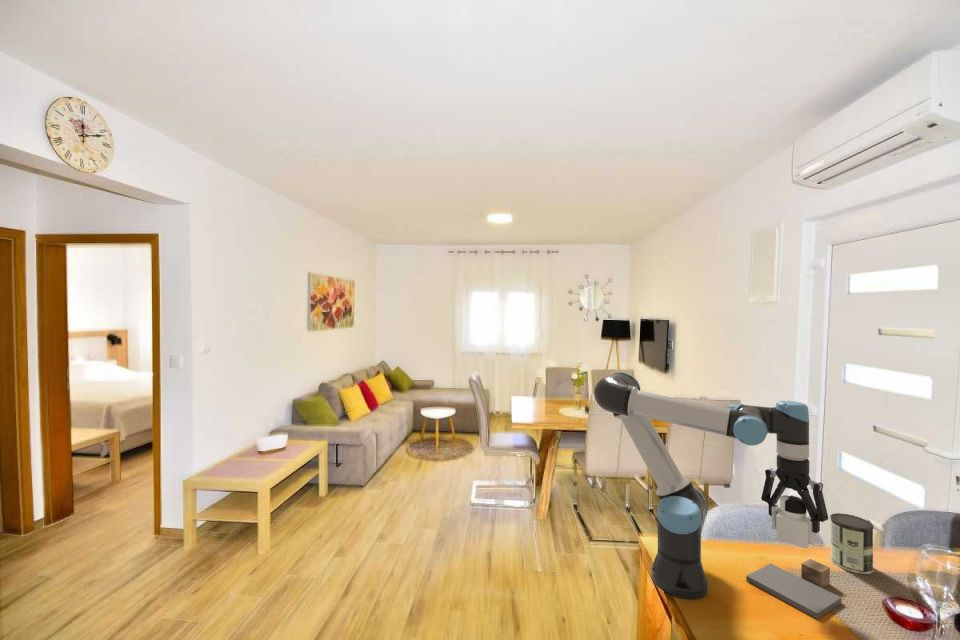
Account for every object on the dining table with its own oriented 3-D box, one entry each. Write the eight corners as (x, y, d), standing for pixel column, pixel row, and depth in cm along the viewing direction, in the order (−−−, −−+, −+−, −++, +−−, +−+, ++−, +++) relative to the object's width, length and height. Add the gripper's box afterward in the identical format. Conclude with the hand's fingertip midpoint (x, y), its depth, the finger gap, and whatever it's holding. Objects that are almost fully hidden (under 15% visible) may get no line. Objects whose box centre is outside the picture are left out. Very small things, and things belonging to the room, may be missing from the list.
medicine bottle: (810, 539, 120) (810, 497, 120) (807, 549, 115) (807, 505, 115) (780, 530, 125) (779, 490, 125) (776, 540, 120) (775, 498, 120)
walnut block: (801, 579, 125) (801, 563, 125) (810, 575, 128) (810, 558, 128) (821, 589, 121) (821, 572, 121) (829, 584, 123) (829, 567, 123)
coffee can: (858, 557, 137) (858, 514, 137) (882, 576, 127) (882, 530, 127) (822, 553, 139) (822, 511, 139) (842, 572, 129) (843, 526, 129)
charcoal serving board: (746, 580, 125) (746, 575, 125) (770, 568, 131) (770, 563, 131) (817, 619, 109) (817, 613, 109) (841, 602, 115) (841, 597, 115)
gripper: (844, 465, 112) (845, 549, 112) (760, 444, 131) (761, 516, 131) (831, 470, 109) (831, 557, 109) (746, 448, 127) (747, 522, 128)
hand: (793, 535), depth 120 cm, fingers closed on medicine bottle, 8 cm apart
